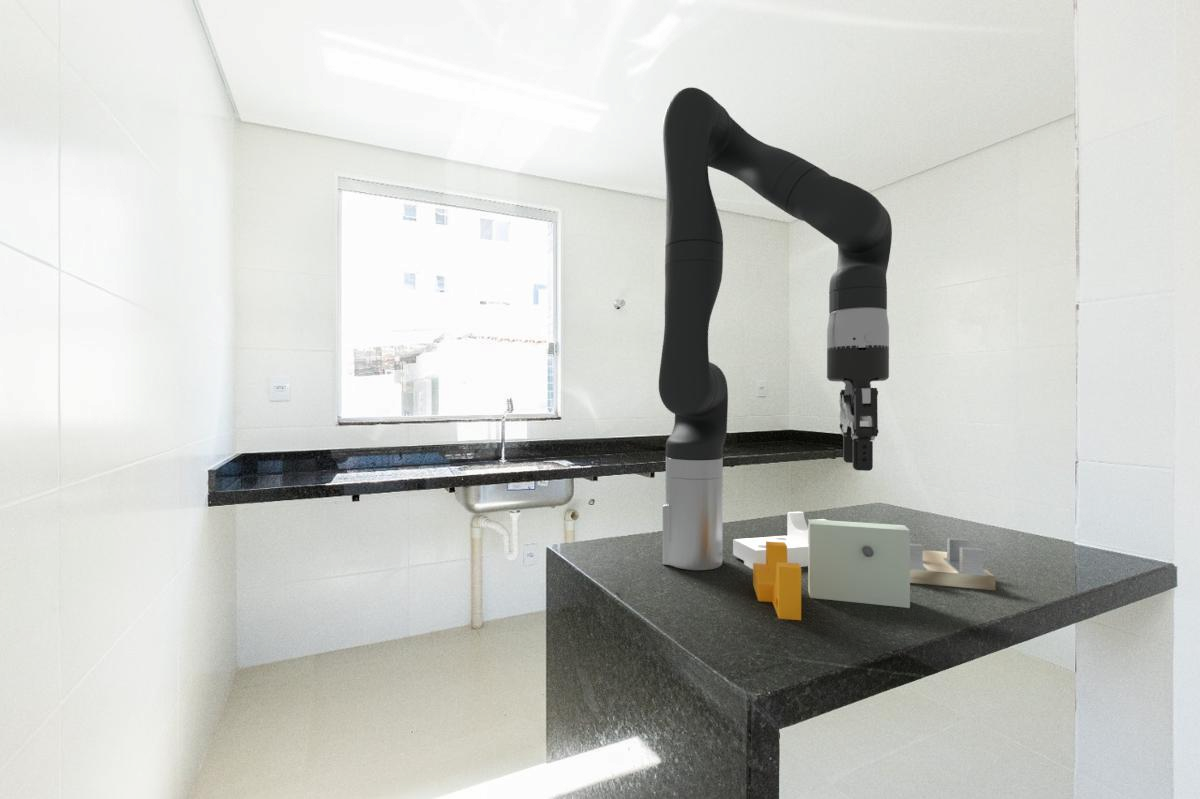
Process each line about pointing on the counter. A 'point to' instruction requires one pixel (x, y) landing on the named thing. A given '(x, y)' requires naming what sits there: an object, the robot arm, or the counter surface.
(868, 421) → the robot arm
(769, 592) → the orange stepped block
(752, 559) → the bracket
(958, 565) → the grey slotted panel holder
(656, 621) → the counter surface
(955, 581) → the wooden base board
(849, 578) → the door
